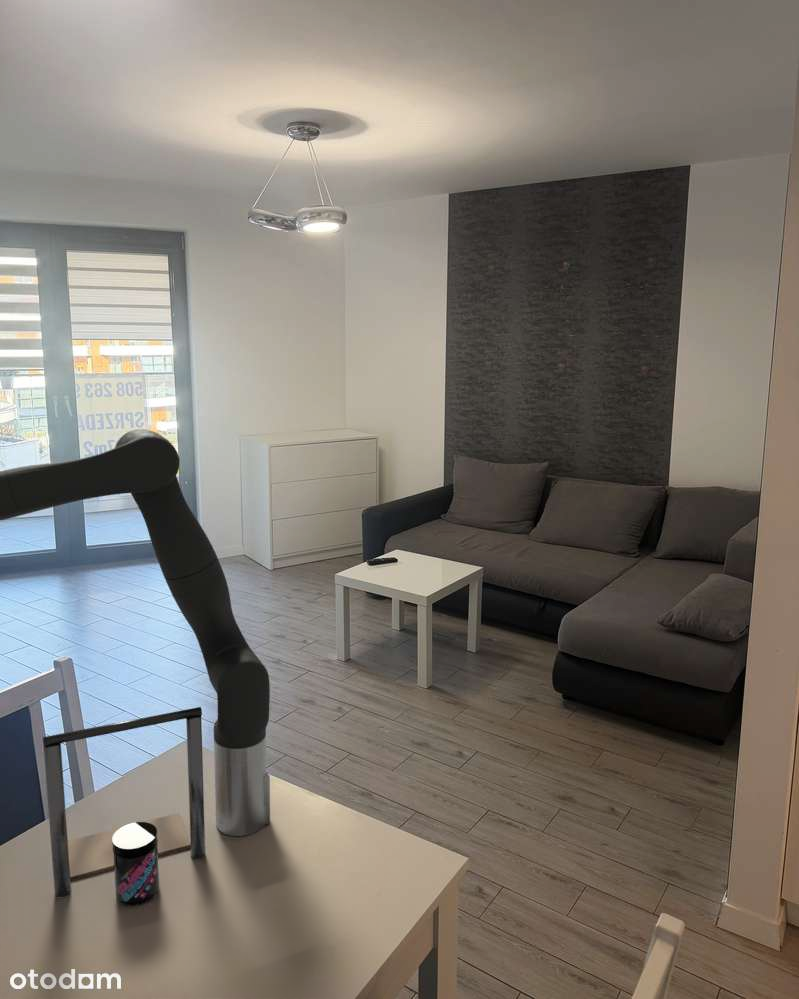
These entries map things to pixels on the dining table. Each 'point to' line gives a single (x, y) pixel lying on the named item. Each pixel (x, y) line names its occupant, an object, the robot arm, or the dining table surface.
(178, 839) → the walnut board
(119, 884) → the supplement container
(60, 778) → the frame
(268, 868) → the dining table surface
